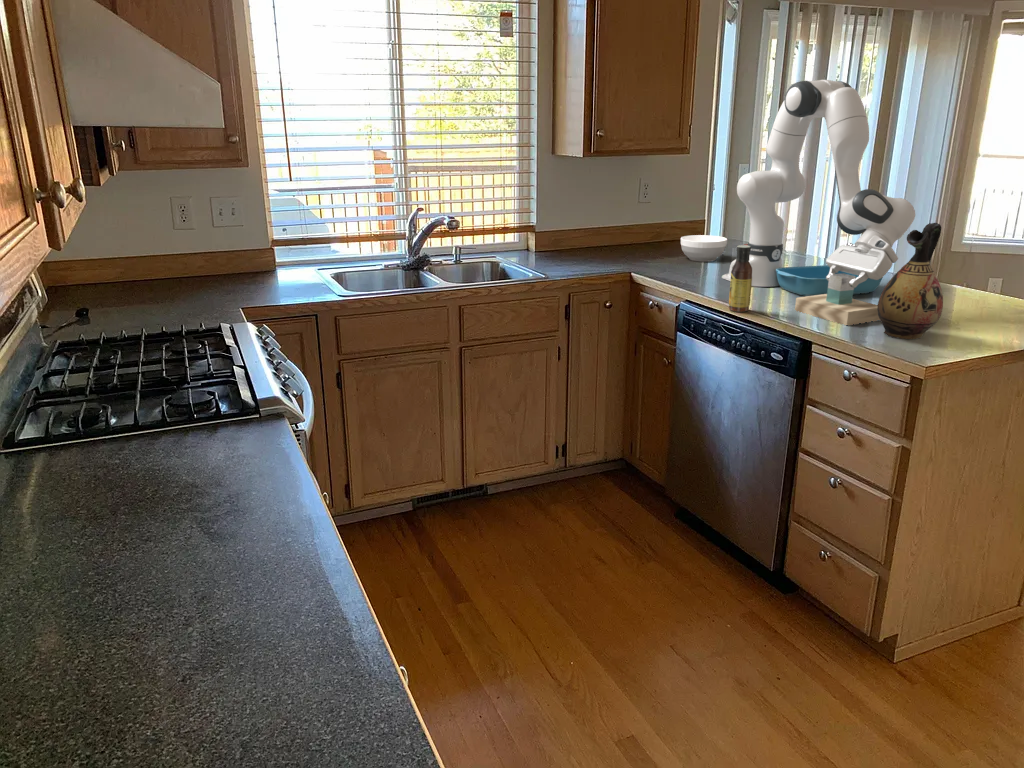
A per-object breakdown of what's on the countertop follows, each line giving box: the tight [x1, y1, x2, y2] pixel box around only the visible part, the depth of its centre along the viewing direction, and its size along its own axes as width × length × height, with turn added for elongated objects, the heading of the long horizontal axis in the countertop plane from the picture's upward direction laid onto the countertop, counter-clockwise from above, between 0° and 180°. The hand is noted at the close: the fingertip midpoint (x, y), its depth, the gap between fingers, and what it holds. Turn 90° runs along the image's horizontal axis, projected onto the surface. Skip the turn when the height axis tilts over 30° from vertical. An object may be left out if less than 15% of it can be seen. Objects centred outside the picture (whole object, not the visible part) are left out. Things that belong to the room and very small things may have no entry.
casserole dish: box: [776, 264, 884, 297], centre depth 257 cm, size 37×22×7 cm, turn 105°
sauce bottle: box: [728, 244, 752, 313], centre depth 229 cm, size 6×6×20 cm
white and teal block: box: [826, 273, 856, 305], centre depth 223 cm, size 5×5×8 cm
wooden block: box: [794, 294, 880, 326], centre depth 225 cm, size 20×14×4 cm
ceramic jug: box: [877, 222, 944, 340], centre depth 200 cm, size 17×15×30 cm
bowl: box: [680, 234, 728, 263], centre depth 315 cm, size 19×19×9 cm
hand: (839, 282), depth 222 cm, fingers open, 8 cm apart
